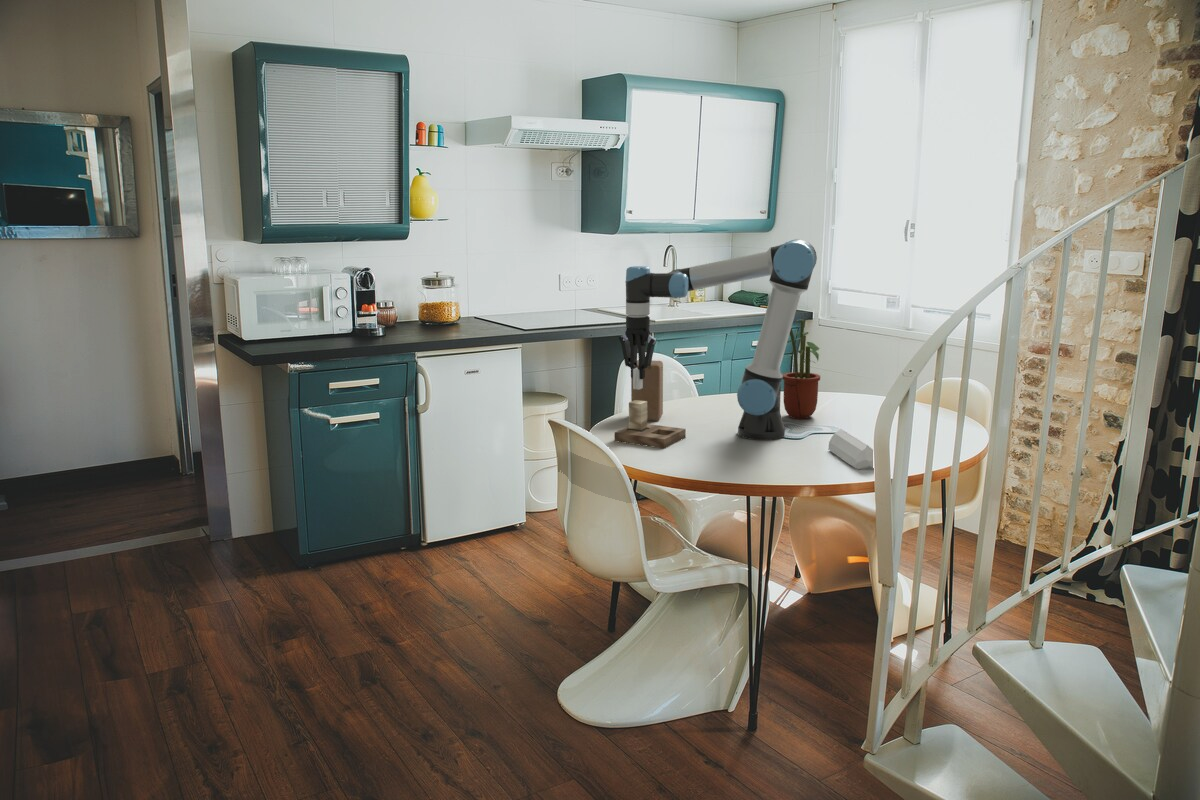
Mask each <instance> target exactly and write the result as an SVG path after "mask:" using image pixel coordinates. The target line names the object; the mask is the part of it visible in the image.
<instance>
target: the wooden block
mask: <svg viewBox="0 0 1200 800" xmlns="http://www.w3.org/2000/svg"><path fill="white" fill-rule="evenodd" d="M637 366H638V367H636V368H639V359H637ZM630 379H631V380H630V385H631V389H630V393H631V397H630V398H631V401H630V402H632V401H634V400H640V401H647V422H658V421H660V420H661V418H662V416H663V414H664V412H663V411H664V409H663V408H664V362H663V361H662V360H652V361H651V366H650V367H647V368H645V378H644V379H643V388H642V389H639V390H637V389H633V378H631V377H630Z"/></svg>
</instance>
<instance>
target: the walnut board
mask: <svg viewBox="0 0 1200 800" xmlns="http://www.w3.org/2000/svg"><path fill="white" fill-rule="evenodd" d="M647 427H648V428H647V430H645V431H643V432H638V431H630V430H629V425H628V426H626V427H623V428H622V429H619V430H617V431H614V434H613V435H614V438H613V440H614V442H615V441H619V442H618V443H622V442H626V443H625V444H629V443H634V444H633V445H636V444H640V445H639V446H643V445H647V446H646V447H650V446H654V447H653V448H657V447H660V448H659V449H664V448H665V449H667V448H668V447H670V446H672V445H674V444H677V443H679V442H680V441H682V440H685V439H686V437H687V435H686V434H687V433H686V428H683V427H674V426H666V425H658V424H651V423H647ZM681 439H682V440H681ZM666 447H667V448H666Z"/></svg>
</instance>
